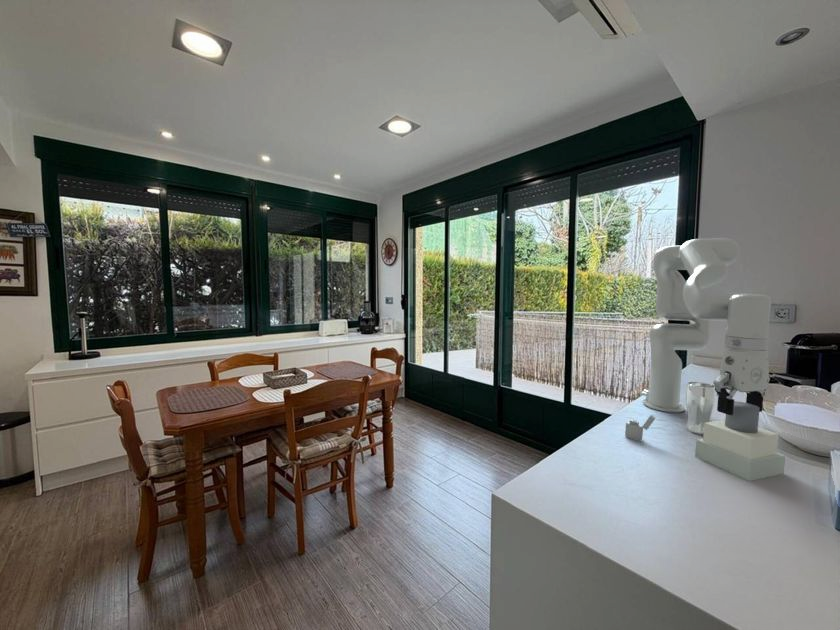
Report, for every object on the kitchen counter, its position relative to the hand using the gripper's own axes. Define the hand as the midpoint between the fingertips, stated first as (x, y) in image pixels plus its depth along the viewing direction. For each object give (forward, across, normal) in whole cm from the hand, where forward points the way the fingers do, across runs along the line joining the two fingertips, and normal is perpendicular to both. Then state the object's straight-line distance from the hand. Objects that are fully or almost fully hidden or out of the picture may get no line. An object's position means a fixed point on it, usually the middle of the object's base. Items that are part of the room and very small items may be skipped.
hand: (739, 411), depth 85 cm
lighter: (+14, -11, +17) cm, 25 cm away
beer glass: (+14, +12, +18) cm, 26 cm away
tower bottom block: (+14, +1, 0) cm, 14 cm away
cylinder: (+4, +1, 0) cm, 4 cm away
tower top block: (+9, +1, 0) cm, 9 cm away
